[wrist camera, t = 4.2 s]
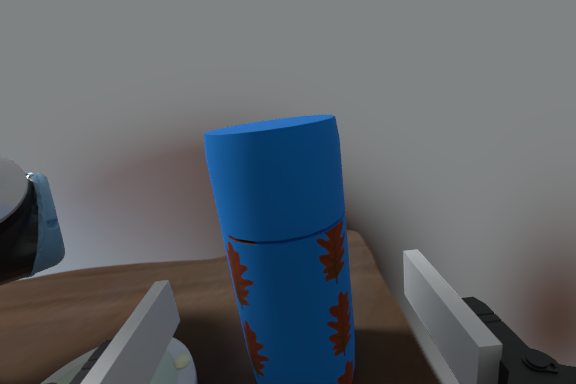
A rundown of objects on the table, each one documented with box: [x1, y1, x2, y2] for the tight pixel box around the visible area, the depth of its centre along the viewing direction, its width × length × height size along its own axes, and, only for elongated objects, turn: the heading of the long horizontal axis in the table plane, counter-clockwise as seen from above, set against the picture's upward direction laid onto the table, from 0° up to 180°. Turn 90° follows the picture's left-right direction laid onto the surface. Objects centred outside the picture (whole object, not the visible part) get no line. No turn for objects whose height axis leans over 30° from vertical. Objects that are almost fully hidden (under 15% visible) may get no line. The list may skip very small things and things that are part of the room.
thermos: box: [204, 115, 355, 384], centre depth 28 cm, size 11×11×25 cm
